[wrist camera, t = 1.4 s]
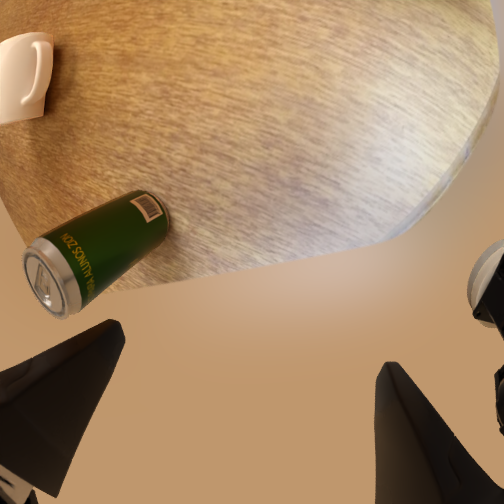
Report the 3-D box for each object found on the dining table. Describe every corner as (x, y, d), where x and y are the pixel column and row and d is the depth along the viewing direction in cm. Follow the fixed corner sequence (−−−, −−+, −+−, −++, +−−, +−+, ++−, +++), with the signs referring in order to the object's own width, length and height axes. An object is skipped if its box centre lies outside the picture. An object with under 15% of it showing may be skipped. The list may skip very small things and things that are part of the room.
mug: (23, 120, 23) (-26, 133, 16) (29, 55, 18) (-19, 58, 11) (72, 110, 20) (8, 121, 14) (83, 28, 16) (22, 22, 9)
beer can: (137, 175, 22) (20, 226, 11) (182, 213, 22) (75, 291, 12) (117, 220, 24) (20, 281, 14) (157, 256, 25) (67, 336, 14)
